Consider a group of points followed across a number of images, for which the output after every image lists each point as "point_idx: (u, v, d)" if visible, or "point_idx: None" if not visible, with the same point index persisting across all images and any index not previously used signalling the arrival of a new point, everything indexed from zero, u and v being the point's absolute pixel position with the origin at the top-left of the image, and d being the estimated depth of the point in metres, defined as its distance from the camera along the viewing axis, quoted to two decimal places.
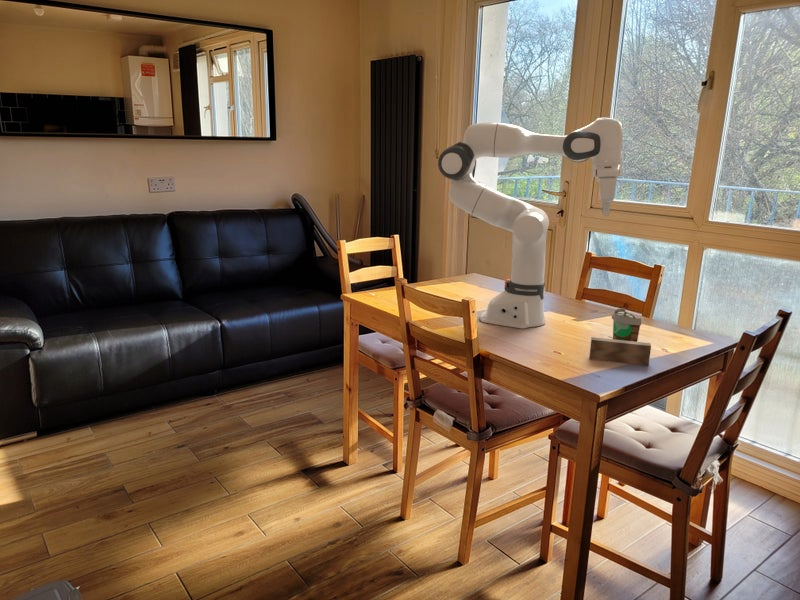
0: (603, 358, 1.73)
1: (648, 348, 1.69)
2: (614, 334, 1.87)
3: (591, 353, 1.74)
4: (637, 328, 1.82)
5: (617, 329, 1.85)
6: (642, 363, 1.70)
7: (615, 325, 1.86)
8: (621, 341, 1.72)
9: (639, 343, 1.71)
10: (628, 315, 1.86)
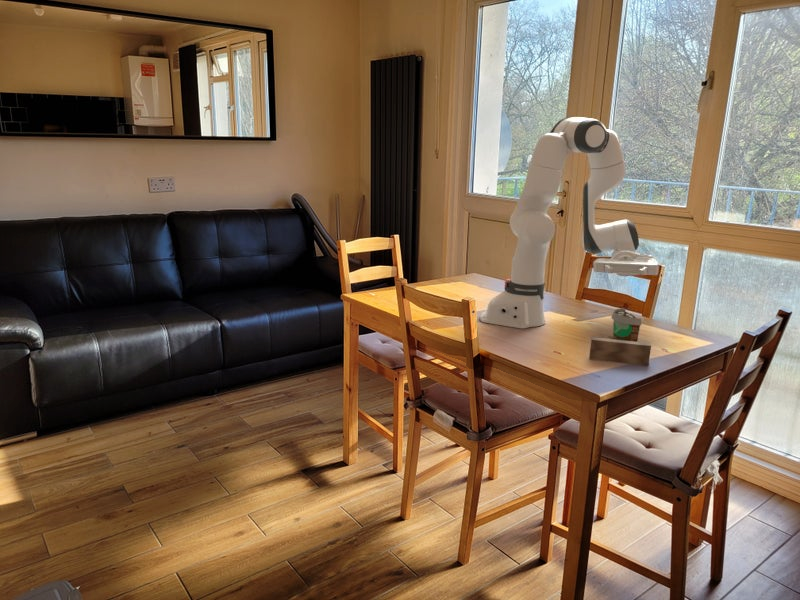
0: (603, 358, 1.73)
1: (648, 348, 1.69)
2: (614, 334, 1.87)
3: (591, 353, 1.74)
4: (637, 328, 1.82)
5: (617, 329, 1.85)
6: (642, 363, 1.70)
7: (615, 325, 1.86)
8: (621, 341, 1.72)
9: (639, 343, 1.71)
10: (628, 315, 1.86)
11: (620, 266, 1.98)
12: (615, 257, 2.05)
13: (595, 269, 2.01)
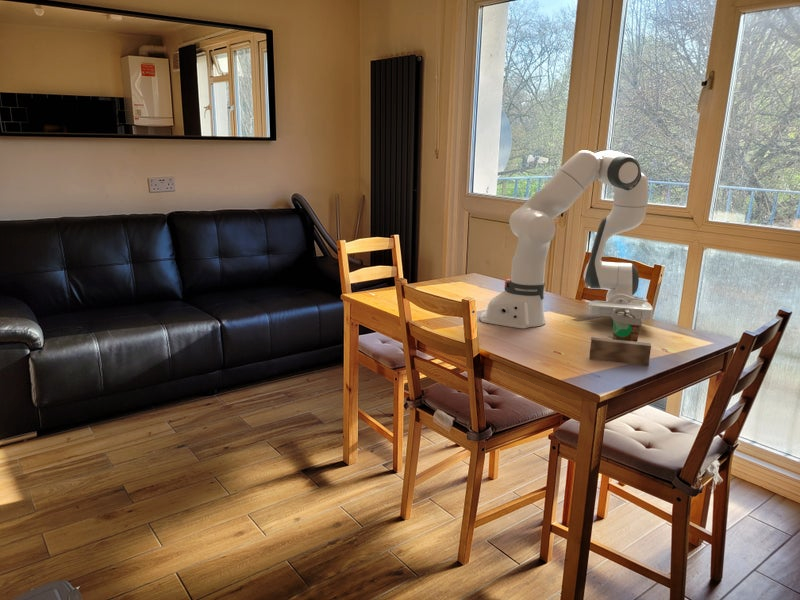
0: (603, 358, 1.73)
1: (648, 348, 1.69)
2: (614, 334, 1.87)
3: (591, 353, 1.74)
4: (637, 328, 1.82)
5: (617, 329, 1.85)
6: (642, 363, 1.70)
7: (615, 325, 1.86)
8: (621, 341, 1.72)
9: (639, 343, 1.71)
10: (628, 315, 1.86)
11: (615, 309, 2.03)
12: (610, 300, 2.09)
13: (591, 312, 2.05)
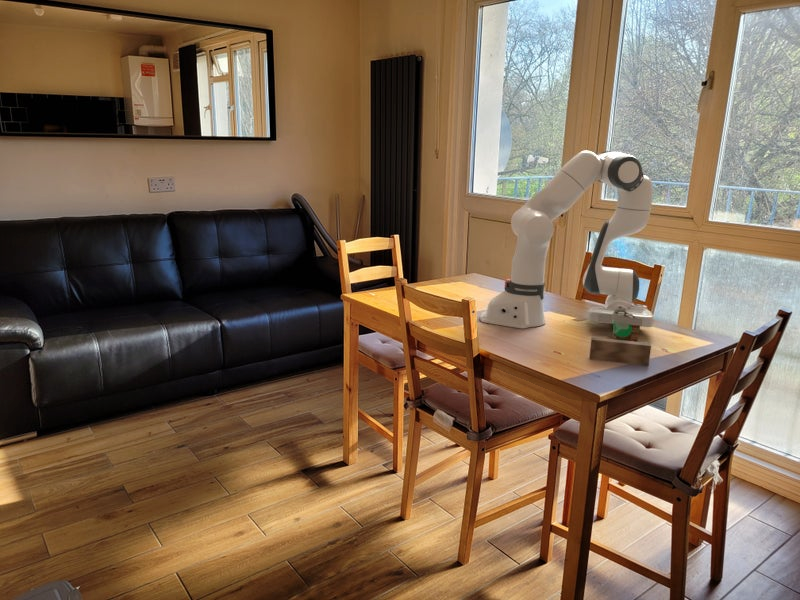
0: (603, 358, 1.73)
1: (648, 348, 1.69)
2: (614, 334, 1.87)
3: (591, 353, 1.74)
4: (637, 328, 1.81)
5: (617, 329, 1.85)
6: (642, 363, 1.70)
7: (615, 325, 1.86)
8: (621, 341, 1.72)
9: (639, 343, 1.71)
10: (628, 315, 1.85)
11: None
12: (609, 306, 2.04)
13: (590, 318, 1.99)
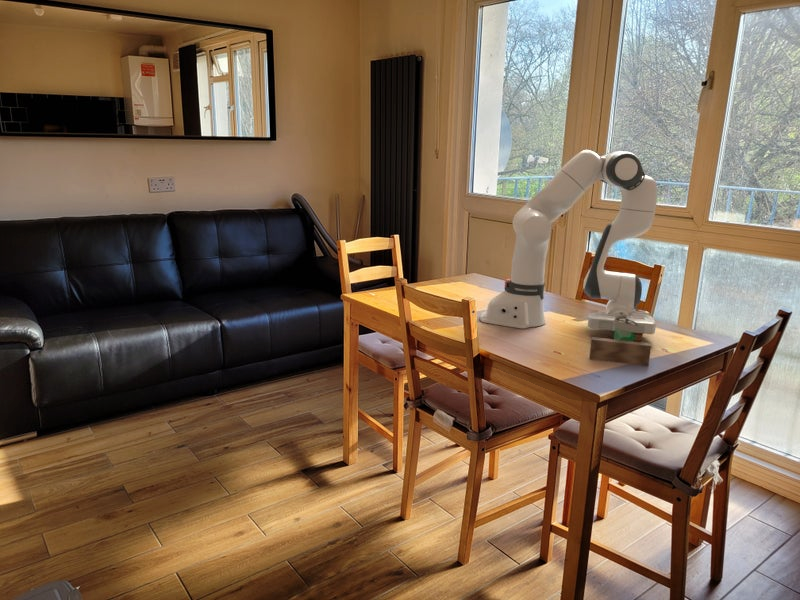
0: (603, 358, 1.73)
1: (648, 348, 1.69)
2: None
3: (591, 353, 1.74)
4: (640, 336, 1.74)
5: (619, 337, 1.78)
6: (642, 363, 1.70)
7: (617, 333, 1.79)
8: (621, 341, 1.72)
9: (639, 343, 1.71)
10: (630, 322, 1.78)
11: None
12: (610, 312, 1.97)
13: (589, 325, 1.92)
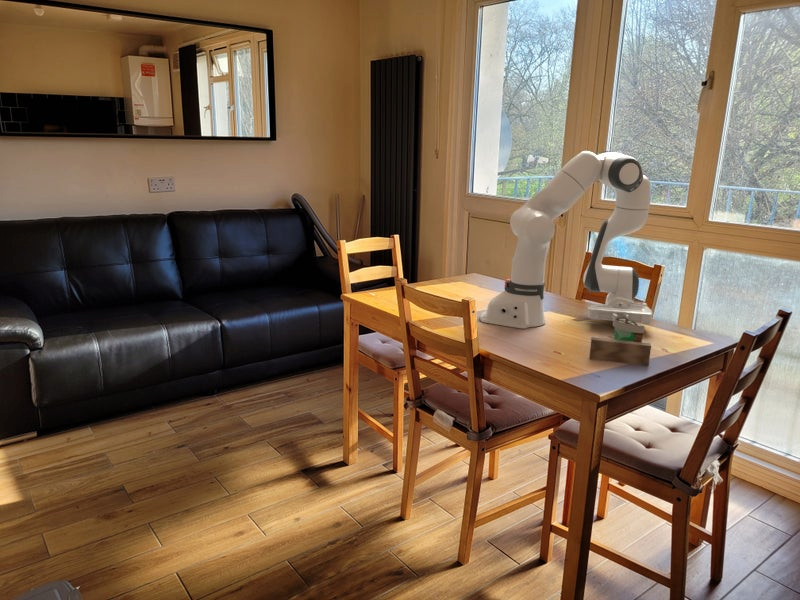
0: (603, 358, 1.73)
1: (648, 348, 1.69)
2: None
3: (591, 353, 1.74)
4: (640, 336, 1.74)
5: (619, 337, 1.78)
6: (642, 363, 1.70)
7: (617, 333, 1.79)
8: (621, 341, 1.72)
9: (639, 343, 1.71)
10: (630, 322, 1.78)
11: None
12: (610, 304, 2.07)
13: (590, 316, 2.03)
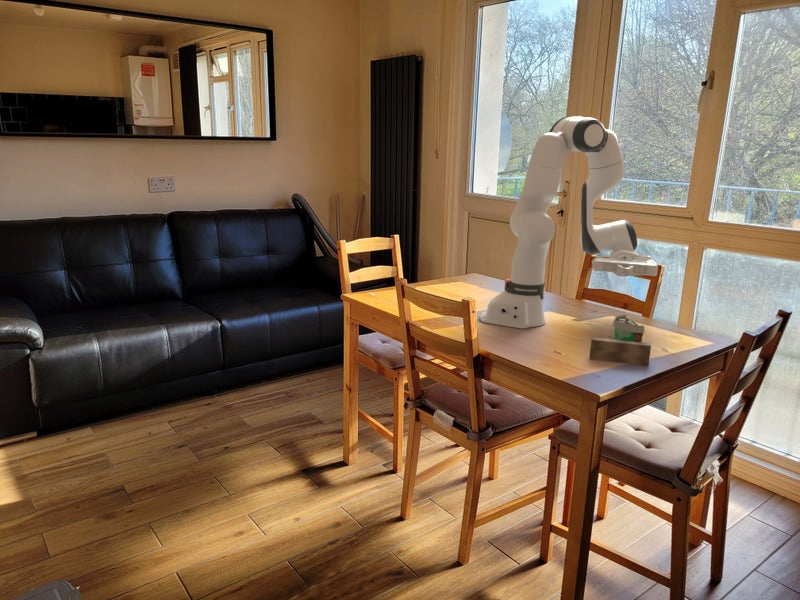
0: (603, 358, 1.73)
1: (648, 348, 1.69)
2: None
3: (591, 353, 1.74)
4: (640, 336, 1.74)
5: (619, 337, 1.78)
6: (642, 363, 1.70)
7: (617, 333, 1.79)
8: (621, 341, 1.72)
9: (639, 343, 1.71)
10: (630, 322, 1.78)
11: None
12: (614, 257, 2.04)
13: (594, 267, 2.00)
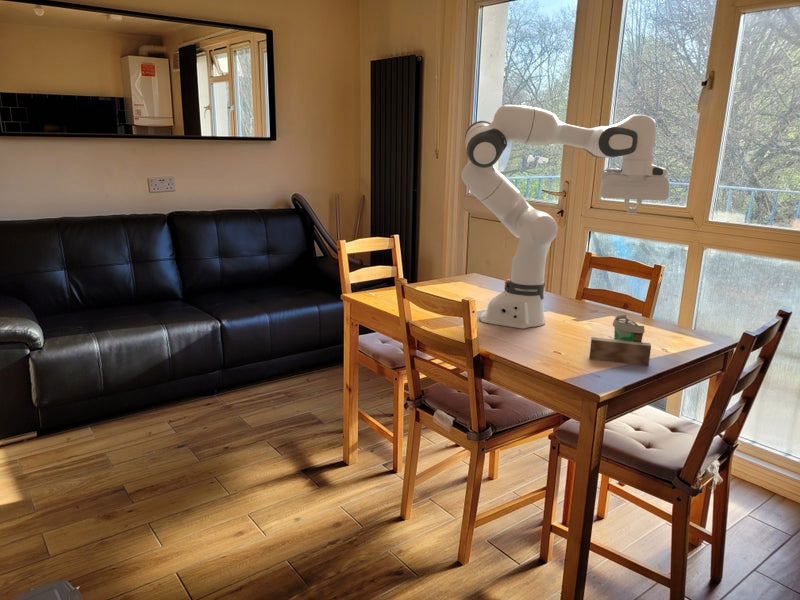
0: (603, 358, 1.73)
1: (648, 348, 1.69)
2: None
3: (591, 353, 1.74)
4: (640, 336, 1.74)
5: (619, 337, 1.78)
6: (642, 363, 1.70)
7: (617, 333, 1.79)
8: (621, 341, 1.72)
9: (639, 343, 1.71)
10: (630, 322, 1.78)
11: None
12: (625, 174, 1.87)
13: None
